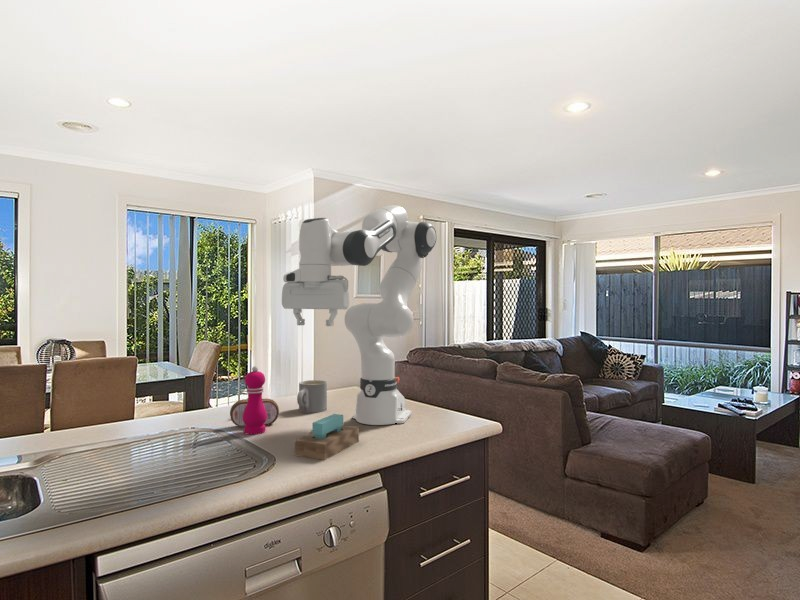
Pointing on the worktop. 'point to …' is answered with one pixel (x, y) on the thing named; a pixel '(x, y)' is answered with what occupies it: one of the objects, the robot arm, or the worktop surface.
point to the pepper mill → (254, 403)
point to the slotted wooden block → (326, 443)
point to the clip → (327, 425)
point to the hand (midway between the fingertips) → (315, 325)
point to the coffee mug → (312, 396)
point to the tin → (240, 406)
